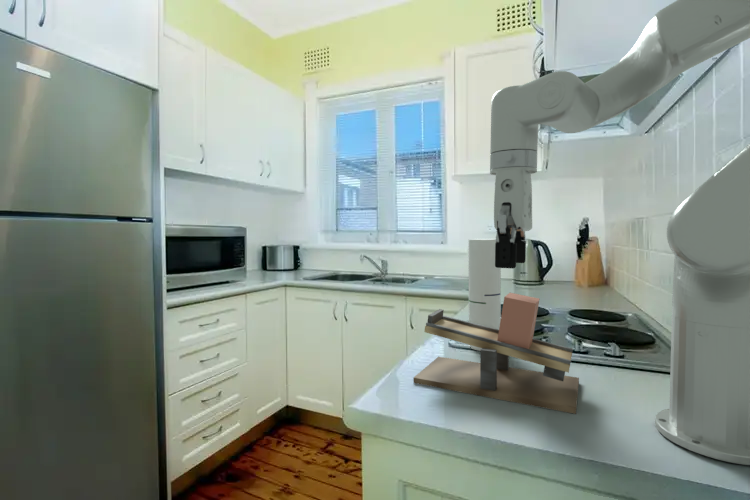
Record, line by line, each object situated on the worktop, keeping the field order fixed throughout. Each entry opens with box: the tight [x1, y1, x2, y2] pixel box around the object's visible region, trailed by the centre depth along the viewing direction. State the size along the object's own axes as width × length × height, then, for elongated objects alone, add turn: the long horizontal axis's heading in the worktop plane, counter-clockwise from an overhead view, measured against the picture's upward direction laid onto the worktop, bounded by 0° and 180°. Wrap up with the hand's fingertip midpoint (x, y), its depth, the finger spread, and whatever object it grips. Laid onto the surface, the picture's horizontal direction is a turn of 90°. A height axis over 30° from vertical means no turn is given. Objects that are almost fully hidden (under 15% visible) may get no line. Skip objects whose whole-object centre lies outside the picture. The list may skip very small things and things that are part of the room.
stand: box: [413, 348, 580, 415], centre depth 70 cm, size 26×13×8 cm, turn 61°
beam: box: [424, 308, 574, 381], centre depth 70 cm, size 24×8×5 cm, turn 61°
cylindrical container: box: [468, 238, 502, 352], centre depth 92 cm, size 7×7×25 cm
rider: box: [497, 292, 540, 349], centre depth 68 cm, size 5×5×8 cm
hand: (510, 265), depth 68 cm, fingers open, 9 cm apart
